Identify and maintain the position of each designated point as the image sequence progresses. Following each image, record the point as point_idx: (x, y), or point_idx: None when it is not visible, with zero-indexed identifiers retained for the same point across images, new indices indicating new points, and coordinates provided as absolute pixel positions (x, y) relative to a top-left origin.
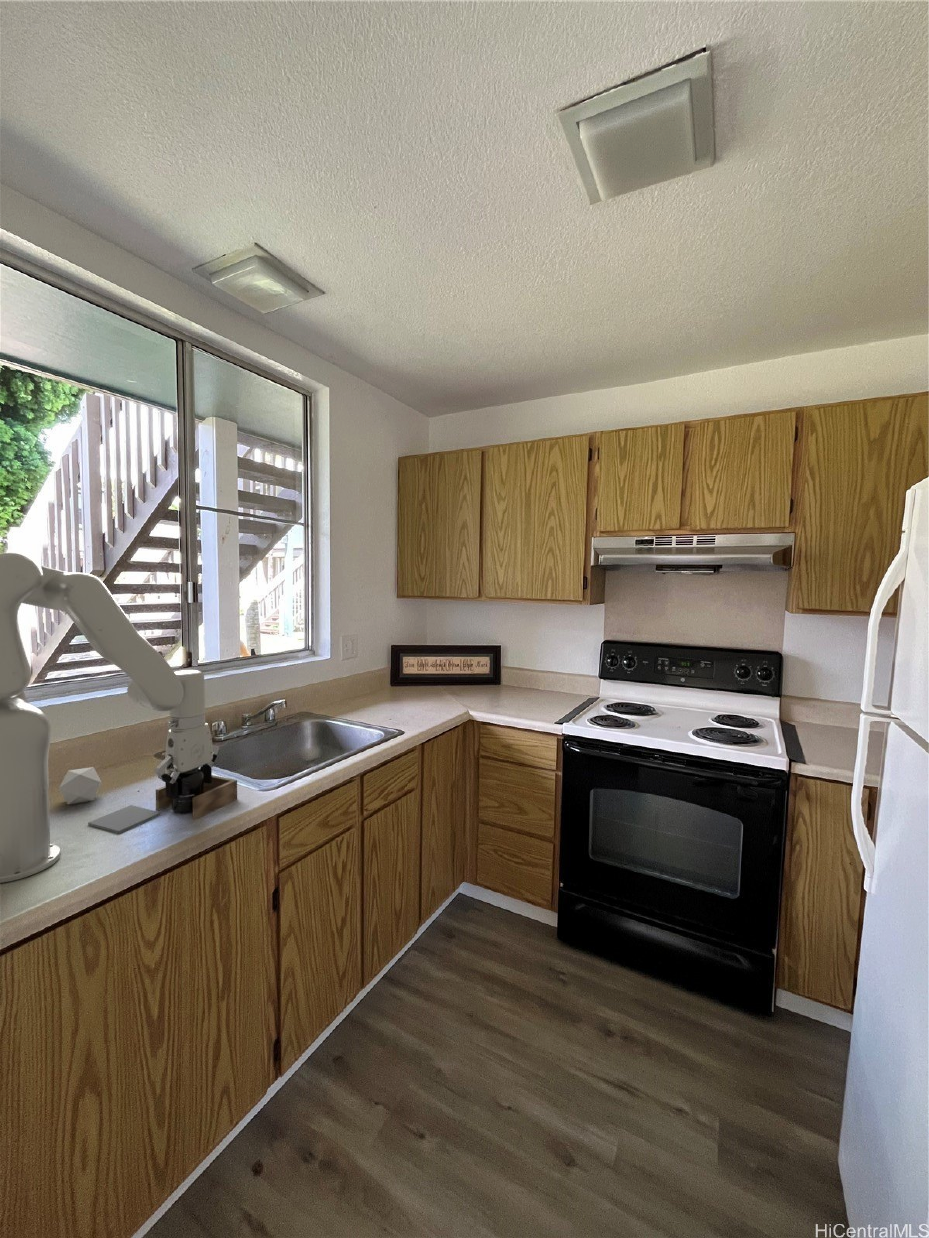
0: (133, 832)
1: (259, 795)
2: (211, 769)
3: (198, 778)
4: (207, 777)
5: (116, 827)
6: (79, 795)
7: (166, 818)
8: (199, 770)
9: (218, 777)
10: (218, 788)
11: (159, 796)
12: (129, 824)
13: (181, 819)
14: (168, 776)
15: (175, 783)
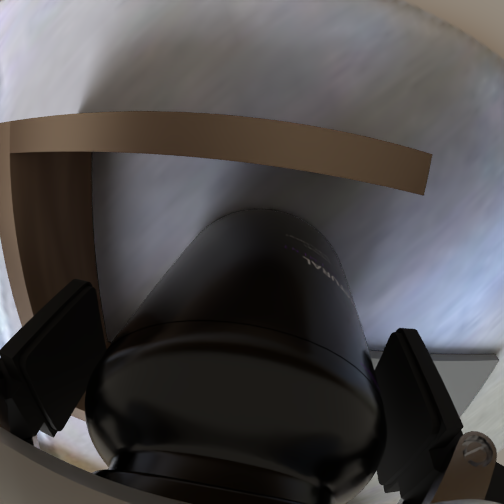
0: (494, 322)
1: (27, 58)
2: (9, 341)
3: (249, 336)
4: (73, 325)
5: (474, 385)
6: None
7: (386, 302)
8: (129, 430)
9: (19, 284)
10: (147, 111)
11: None
12: (460, 371)
13: (388, 223)
14: (496, 496)
15: (460, 421)
